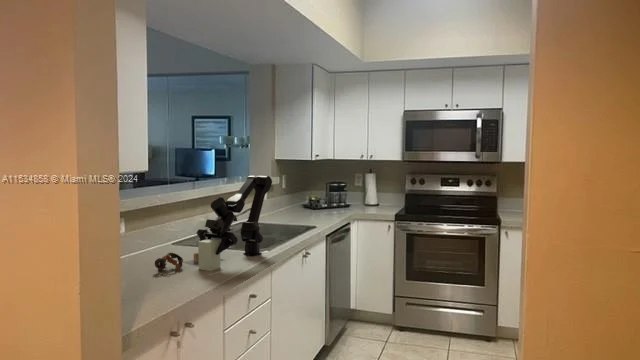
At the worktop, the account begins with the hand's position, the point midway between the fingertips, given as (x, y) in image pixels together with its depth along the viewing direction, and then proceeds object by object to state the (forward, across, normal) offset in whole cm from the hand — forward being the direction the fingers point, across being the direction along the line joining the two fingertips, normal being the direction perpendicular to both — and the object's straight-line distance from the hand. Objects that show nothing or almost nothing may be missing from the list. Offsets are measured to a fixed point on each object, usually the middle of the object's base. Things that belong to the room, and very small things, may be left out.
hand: (207, 253), depth 199 cm
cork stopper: (0, -12, +10) cm, 15 cm away
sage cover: (+4, 0, +6) cm, 7 cm away
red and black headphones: (+11, -14, -1) cm, 18 cm away
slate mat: (-2, -10, +12) cm, 16 cm away
